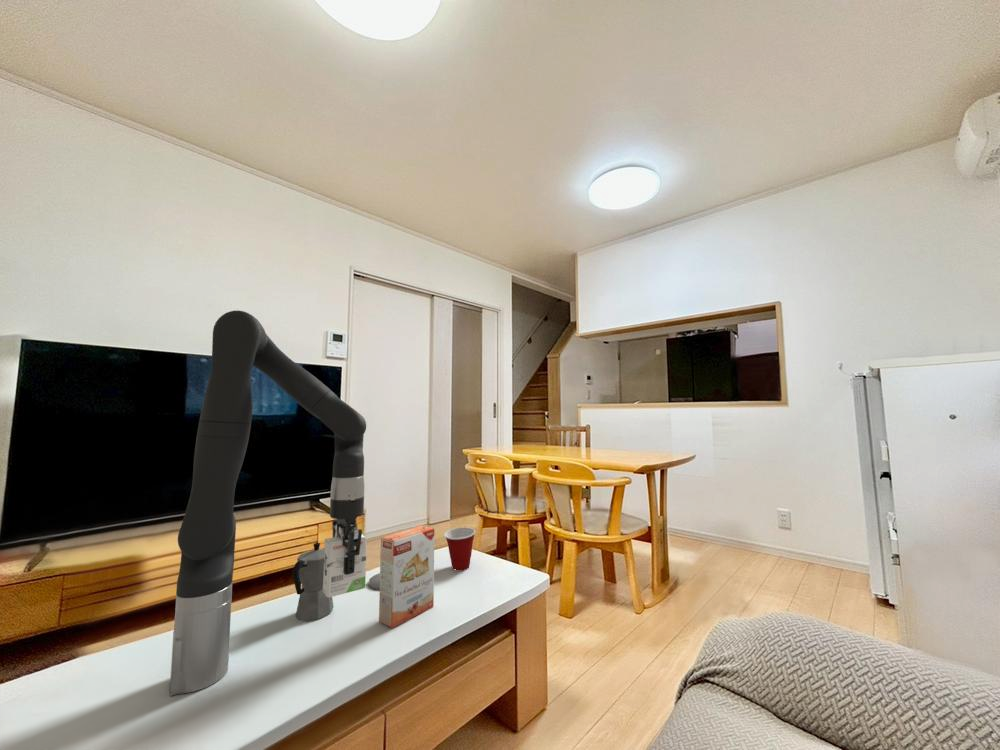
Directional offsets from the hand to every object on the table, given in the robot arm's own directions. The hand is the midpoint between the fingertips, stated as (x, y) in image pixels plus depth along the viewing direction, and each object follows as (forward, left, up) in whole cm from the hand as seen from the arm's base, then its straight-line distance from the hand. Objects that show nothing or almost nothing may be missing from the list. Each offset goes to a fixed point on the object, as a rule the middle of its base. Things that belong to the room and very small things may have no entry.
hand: (344, 569), depth 91 cm
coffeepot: (-2, +19, -16) cm, 25 cm away
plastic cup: (+45, +19, -16) cm, 52 cm away
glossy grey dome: (+22, +25, -16) cm, 37 cm away
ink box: (0, 0, -5) cm, 5 cm away
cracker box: (+17, +2, -16) cm, 24 cm away
